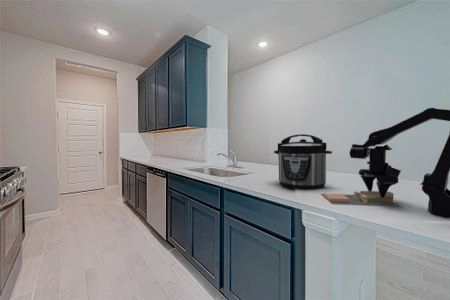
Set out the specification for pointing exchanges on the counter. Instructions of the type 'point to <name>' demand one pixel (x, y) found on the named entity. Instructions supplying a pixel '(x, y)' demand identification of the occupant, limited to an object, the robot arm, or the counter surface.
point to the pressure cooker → (302, 163)
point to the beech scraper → (373, 196)
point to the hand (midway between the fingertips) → (375, 194)
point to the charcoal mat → (356, 202)
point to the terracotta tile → (336, 197)
